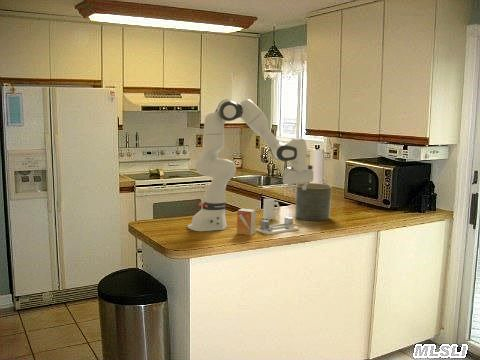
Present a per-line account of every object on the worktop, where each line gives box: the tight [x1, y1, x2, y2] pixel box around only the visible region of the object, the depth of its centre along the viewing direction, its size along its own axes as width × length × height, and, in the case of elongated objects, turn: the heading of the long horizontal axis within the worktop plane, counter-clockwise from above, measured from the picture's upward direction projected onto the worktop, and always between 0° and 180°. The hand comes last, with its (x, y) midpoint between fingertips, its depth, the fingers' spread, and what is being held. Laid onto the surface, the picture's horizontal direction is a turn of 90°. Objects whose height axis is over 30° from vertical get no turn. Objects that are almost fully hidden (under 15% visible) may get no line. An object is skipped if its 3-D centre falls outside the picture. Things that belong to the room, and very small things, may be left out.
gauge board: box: [256, 219, 300, 235], centre depth 279 cm, size 22×10×6 cm, turn 125°
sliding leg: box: [283, 216, 298, 226], centre depth 284 cm, size 3×9×4 cm, turn 35°
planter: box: [294, 182, 333, 222], centre depth 315 cm, size 22×22×20 cm
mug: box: [262, 198, 280, 221], centre depth 308 cm, size 10×7×12 cm, turn 71°
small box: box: [236, 208, 256, 236], centre depth 270 cm, size 8×6×13 cm
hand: (297, 190), depth 287 cm, fingers open, 8 cm apart
